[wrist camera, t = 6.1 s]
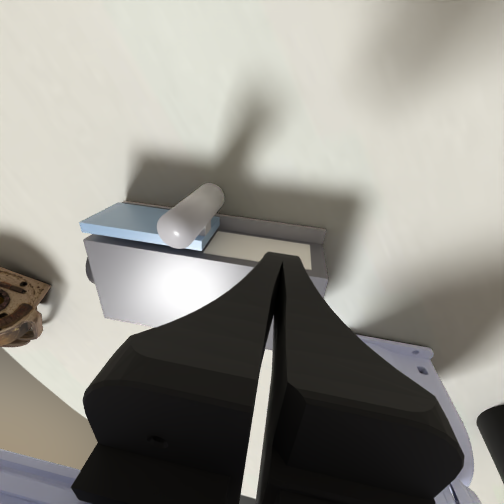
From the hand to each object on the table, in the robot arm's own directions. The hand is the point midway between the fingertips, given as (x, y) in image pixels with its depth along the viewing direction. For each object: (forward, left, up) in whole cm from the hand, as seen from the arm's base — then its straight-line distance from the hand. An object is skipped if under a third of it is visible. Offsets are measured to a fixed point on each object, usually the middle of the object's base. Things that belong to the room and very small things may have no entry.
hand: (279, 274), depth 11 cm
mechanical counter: (+29, +15, -10) cm, 34 cm away
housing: (+5, +6, -9) cm, 12 cm away
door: (+9, +1, -9) cm, 12 cm away
